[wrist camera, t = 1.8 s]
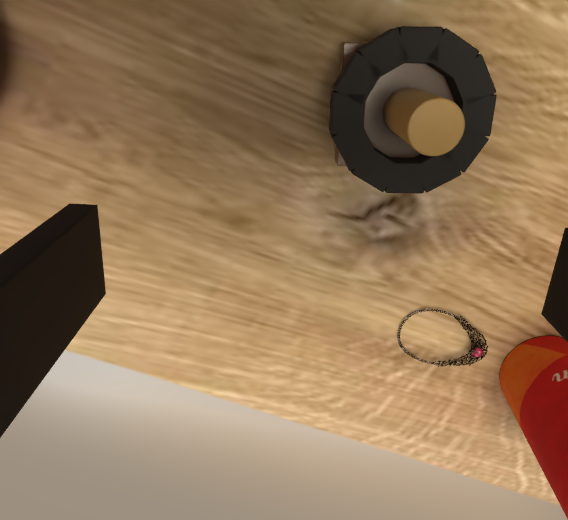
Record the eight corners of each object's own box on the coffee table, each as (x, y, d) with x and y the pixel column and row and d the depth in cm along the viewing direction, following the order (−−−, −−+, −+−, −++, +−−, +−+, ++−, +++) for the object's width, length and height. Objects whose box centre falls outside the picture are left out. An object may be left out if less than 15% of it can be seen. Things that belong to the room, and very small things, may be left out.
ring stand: (341, 42, 29) (362, 40, 20) (460, 44, 29) (531, 43, 20) (335, 161, 31) (352, 203, 23) (445, 163, 31) (501, 205, 23)
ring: (333, 26, 26) (336, 25, 24) (495, 28, 26) (508, 27, 24) (326, 185, 29) (328, 192, 27) (471, 187, 29) (481, 194, 27)
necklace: (470, 372, 37) (475, 381, 36) (388, 350, 36) (391, 358, 35) (496, 323, 35) (501, 331, 34) (410, 299, 34) (414, 306, 34)
